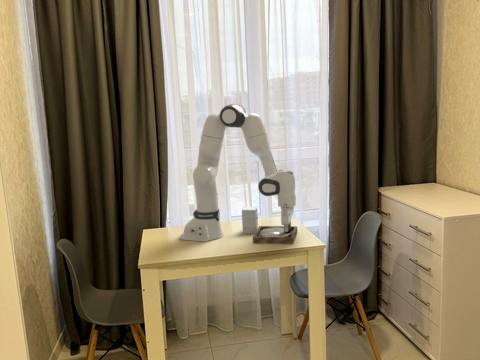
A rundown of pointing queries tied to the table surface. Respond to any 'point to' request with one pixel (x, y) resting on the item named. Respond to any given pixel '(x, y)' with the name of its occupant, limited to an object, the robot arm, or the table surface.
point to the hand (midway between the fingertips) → (287, 228)
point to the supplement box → (249, 219)
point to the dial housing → (275, 239)
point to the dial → (276, 232)
